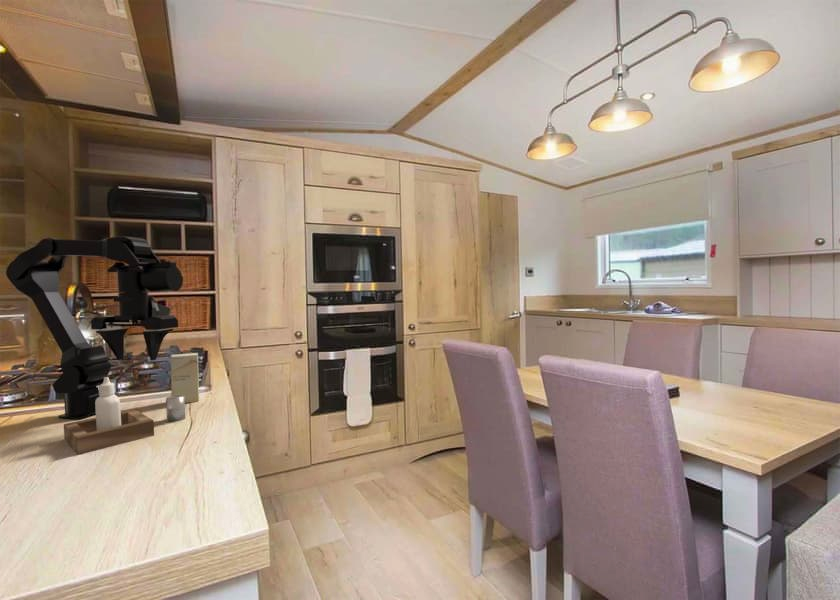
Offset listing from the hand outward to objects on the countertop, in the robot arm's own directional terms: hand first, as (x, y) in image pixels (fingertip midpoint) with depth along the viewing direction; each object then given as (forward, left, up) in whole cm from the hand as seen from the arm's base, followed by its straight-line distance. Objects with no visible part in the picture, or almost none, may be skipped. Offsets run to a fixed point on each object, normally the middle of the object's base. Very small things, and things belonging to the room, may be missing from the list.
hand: (136, 359), depth 96 cm
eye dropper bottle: (+6, -13, -13) cm, 19 cm away
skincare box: (+2, +12, -13) cm, 18 cm away
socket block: (+6, -13, -13) cm, 19 cm away
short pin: (+11, -1, -13) cm, 17 cm away
